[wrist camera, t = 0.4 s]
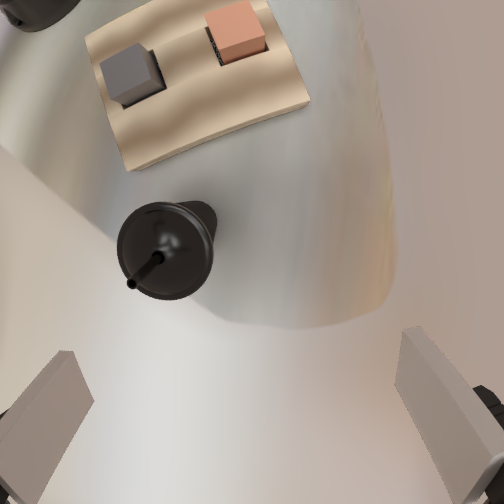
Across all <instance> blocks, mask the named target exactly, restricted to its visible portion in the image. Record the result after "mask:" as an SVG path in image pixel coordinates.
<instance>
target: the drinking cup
mask: <svg viewBox="0 0 504 504" xmlns="http://www.w3.org/2000/svg"><path fill="white" fill-rule="evenodd" d="M216 227H217V218H216V214H215V212H214V210H213V209H212V208H211V207H210V206H209V205H208V204H206V203H204V202H201V201H188V202H180V203H171V202H154V203H150V204H147V205H144V206H142V207H140V208H138V209H137V210H135V211H134V212H133V213H132V214H131V215H130V216H129V217H128V218H127V219H126V220H125V222H124V223H123V225H122V227H121V229H120V232H119V235H118V240H117V256H118V260H119V264H120V267H121V269H122V271H123V273H124V275H125V276H126V278H127V279H128V280H127V286H128V287H129V288H130V289H138V290H139V291H140V292H142V293H144V294H145V295H148V296H149V297H152V298H155V299H159V300H177V299H182V298H185V297H187V296H189V295H191V294H193V293H194V292H195V291H197V290H198V289H199V288H200V287H201V286H202V285H203V284H204V282H205V281H206V279H207V277H208V276H209V273H210V271H211V268H212V264H213V256H214V252H213V241H214V236H215V231H216Z"/></svg>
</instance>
